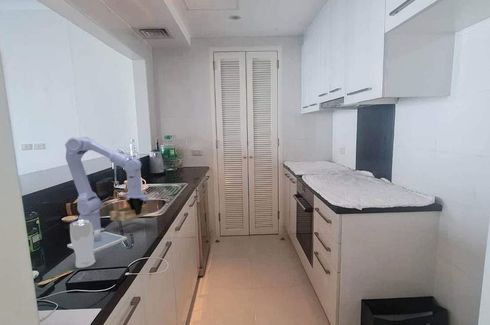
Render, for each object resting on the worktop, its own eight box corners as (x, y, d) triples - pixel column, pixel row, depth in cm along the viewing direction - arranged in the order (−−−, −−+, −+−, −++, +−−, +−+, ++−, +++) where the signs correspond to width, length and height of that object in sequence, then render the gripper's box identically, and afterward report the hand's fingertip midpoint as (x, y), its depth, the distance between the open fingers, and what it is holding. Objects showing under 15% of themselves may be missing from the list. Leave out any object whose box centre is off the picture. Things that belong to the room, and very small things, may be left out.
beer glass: (101, 260, 96) (97, 219, 95) (84, 270, 90) (79, 226, 88) (86, 258, 99) (82, 218, 97) (69, 267, 92) (63, 225, 91)
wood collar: (110, 220, 126) (109, 211, 126) (132, 213, 137) (131, 205, 137) (127, 221, 120) (125, 212, 120) (148, 213, 131) (147, 205, 131)
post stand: (67, 247, 110) (65, 234, 109) (104, 233, 123) (103, 221, 123) (90, 254, 102) (88, 240, 101) (127, 239, 115) (126, 226, 115)
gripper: (116, 186, 124) (119, 214, 126) (137, 188, 117) (140, 218, 119) (129, 183, 131) (132, 210, 132) (150, 185, 123) (153, 214, 125)
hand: (136, 214), depth 126 cm, fingers closed on wood collar
